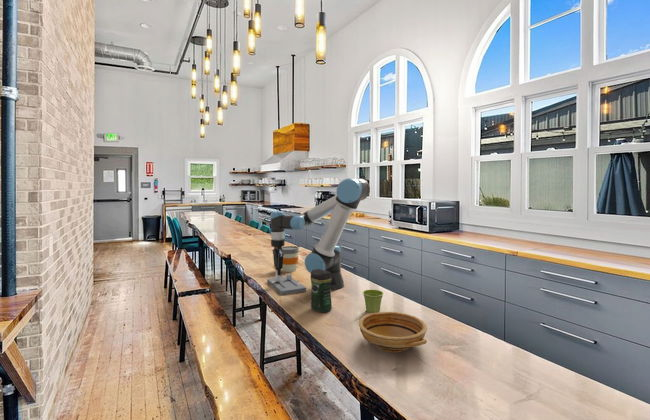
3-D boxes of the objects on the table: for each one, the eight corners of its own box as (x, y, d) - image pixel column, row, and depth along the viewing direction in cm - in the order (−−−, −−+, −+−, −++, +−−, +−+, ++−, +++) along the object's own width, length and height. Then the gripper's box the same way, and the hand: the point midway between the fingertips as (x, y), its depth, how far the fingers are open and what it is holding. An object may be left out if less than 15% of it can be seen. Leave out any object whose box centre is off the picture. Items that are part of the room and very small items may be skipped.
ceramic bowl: (341, 338, 136) (341, 317, 136) (389, 323, 149) (389, 305, 148) (395, 373, 111) (395, 348, 111) (447, 352, 124) (448, 330, 123)
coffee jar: (334, 310, 165) (334, 270, 164) (321, 314, 160) (321, 273, 158) (321, 304, 173) (320, 266, 171) (308, 308, 167) (307, 269, 166)
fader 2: (291, 279, 208) (291, 274, 207) (286, 280, 206) (286, 274, 206) (290, 278, 209) (290, 273, 209) (285, 279, 208) (285, 273, 208)
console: (306, 291, 193) (306, 287, 193) (281, 295, 187) (281, 291, 187) (289, 279, 217) (289, 275, 217) (267, 282, 211) (267, 278, 211)
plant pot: (385, 309, 166) (386, 290, 165) (380, 316, 157) (380, 297, 156) (366, 306, 170) (366, 288, 169) (359, 313, 161) (359, 294, 160)
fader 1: (280, 281, 204) (280, 275, 203) (275, 282, 202) (275, 276, 202) (279, 280, 206) (279, 275, 205) (274, 281, 204) (274, 275, 204)
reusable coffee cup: (298, 272, 232) (297, 249, 231) (278, 272, 232) (278, 249, 231) (299, 267, 244) (299, 246, 243) (281, 268, 245) (280, 246, 243)
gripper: (267, 237, 205) (268, 278, 207) (274, 241, 193) (275, 284, 195) (280, 236, 208) (281, 276, 210) (288, 240, 196) (288, 282, 198)
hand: (278, 280), depth 202 cm, fingers closed
